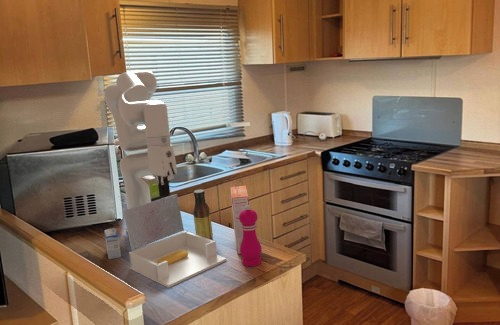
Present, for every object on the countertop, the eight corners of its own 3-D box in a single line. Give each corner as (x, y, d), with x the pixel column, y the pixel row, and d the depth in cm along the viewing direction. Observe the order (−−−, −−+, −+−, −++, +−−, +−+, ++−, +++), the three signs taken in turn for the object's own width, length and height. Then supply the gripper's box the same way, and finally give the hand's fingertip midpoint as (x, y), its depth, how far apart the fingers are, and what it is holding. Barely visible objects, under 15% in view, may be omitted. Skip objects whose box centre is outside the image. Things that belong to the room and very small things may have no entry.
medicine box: (106, 251, 176) (103, 229, 174) (119, 249, 177) (116, 227, 175) (108, 259, 169) (105, 236, 167) (121, 257, 170) (118, 234, 168)
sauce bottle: (204, 236, 184) (200, 187, 179) (216, 239, 180) (212, 189, 176) (192, 242, 179) (187, 191, 175) (204, 245, 175) (199, 193, 171)
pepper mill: (236, 263, 158) (231, 206, 154) (251, 256, 163) (247, 200, 158) (251, 269, 153) (247, 210, 148) (267, 261, 158) (263, 204, 153)
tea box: (136, 203, 234) (132, 174, 231) (154, 198, 241) (150, 170, 237) (152, 209, 223) (148, 178, 220) (170, 203, 230) (167, 174, 226)
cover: (132, 249, 158) (131, 249, 159) (183, 230, 173) (182, 230, 174) (124, 210, 157) (123, 210, 157) (176, 194, 172) (175, 194, 172)
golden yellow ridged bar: (156, 264, 160) (155, 259, 159) (182, 253, 167) (182, 248, 167) (163, 267, 157) (162, 262, 156) (189, 256, 164) (189, 251, 164)
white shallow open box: (130, 268, 160) (127, 252, 158) (186, 245, 176) (185, 230, 175) (168, 287, 144) (166, 269, 143) (226, 260, 161) (225, 243, 159)
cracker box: (234, 239, 178) (230, 186, 174) (250, 238, 179) (246, 184, 174) (236, 255, 165) (231, 197, 160) (253, 253, 165) (249, 195, 160)
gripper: (182, 140, 151) (187, 196, 155) (155, 137, 161) (161, 189, 165) (162, 145, 146) (168, 202, 150) (136, 141, 156) (142, 194, 160)
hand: (164, 195), depth 157 cm, fingers closed
